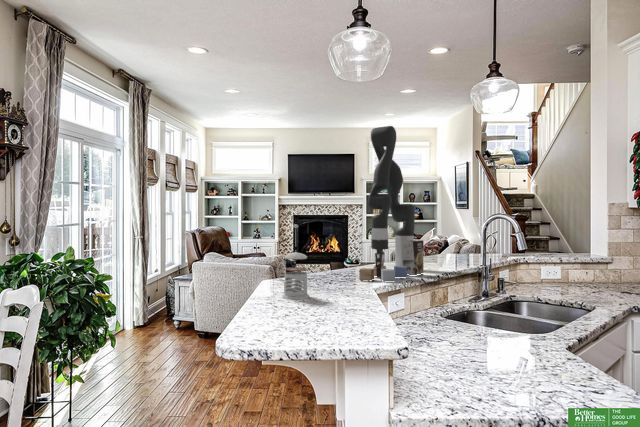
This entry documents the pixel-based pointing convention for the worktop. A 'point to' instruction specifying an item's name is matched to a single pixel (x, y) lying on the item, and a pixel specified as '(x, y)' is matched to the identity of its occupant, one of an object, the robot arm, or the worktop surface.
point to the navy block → (400, 271)
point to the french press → (295, 277)
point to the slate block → (388, 274)
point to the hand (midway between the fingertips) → (379, 275)
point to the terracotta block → (375, 269)
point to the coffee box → (413, 256)
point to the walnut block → (366, 274)
